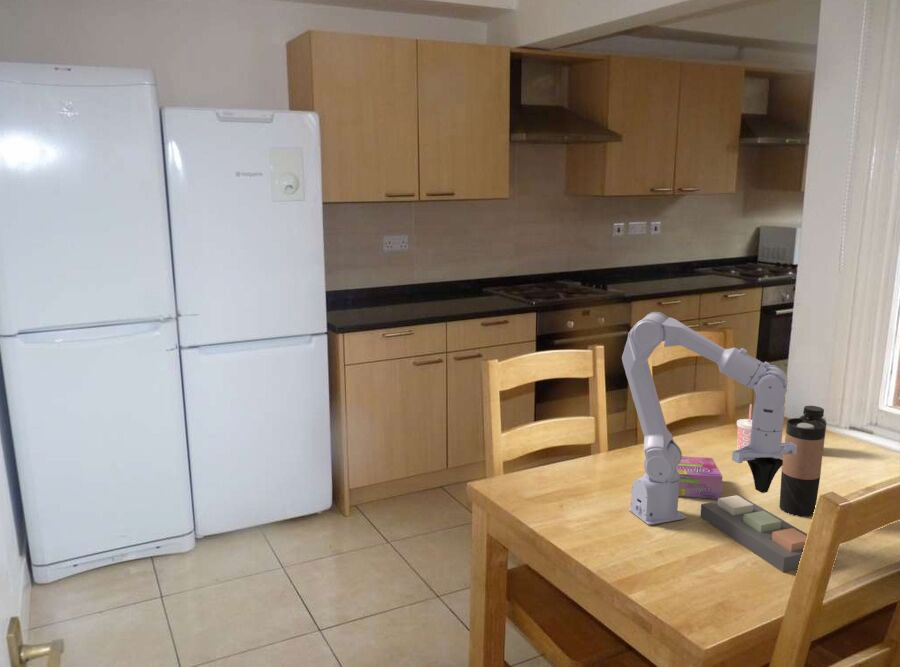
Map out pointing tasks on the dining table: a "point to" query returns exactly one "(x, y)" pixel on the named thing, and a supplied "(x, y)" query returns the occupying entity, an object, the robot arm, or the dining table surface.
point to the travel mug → (802, 467)
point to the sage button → (762, 521)
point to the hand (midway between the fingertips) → (761, 490)
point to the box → (699, 478)
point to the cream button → (735, 505)
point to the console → (753, 535)
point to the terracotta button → (789, 539)
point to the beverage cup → (744, 431)
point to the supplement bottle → (814, 415)
